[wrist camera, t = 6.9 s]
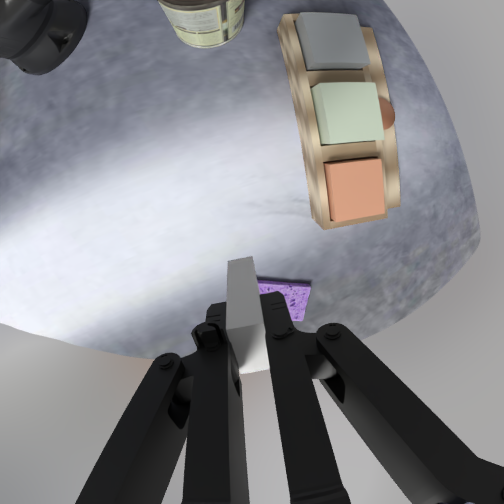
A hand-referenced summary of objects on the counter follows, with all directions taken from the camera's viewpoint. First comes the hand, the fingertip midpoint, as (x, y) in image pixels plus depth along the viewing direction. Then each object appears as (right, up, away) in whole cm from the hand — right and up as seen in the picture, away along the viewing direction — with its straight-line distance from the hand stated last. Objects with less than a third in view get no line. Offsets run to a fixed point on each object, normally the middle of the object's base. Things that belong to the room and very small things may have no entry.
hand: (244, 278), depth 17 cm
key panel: (+14, +22, +18) cm, 32 cm away
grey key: (+10, +29, +11) cm, 33 cm away
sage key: (+12, +20, +15) cm, 28 cm away
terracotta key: (+14, +11, +20) cm, 27 cm away
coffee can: (-6, +35, +12) cm, 38 cm away
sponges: (+3, -6, +30) cm, 31 cm away
